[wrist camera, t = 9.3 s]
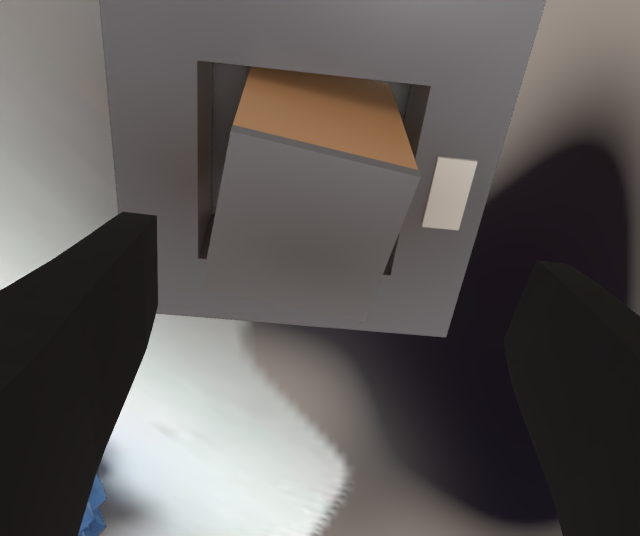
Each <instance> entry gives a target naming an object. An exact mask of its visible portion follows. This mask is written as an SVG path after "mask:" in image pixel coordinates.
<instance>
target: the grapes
mask: <svg viewBox="0 0 640 536" xmlns="http://www.w3.org/2000/svg"><path fill="white" fill-rule="evenodd" d="M106 499H107V497H106V494H105V491H104V488H103V485H102V483H101V481H100V479H99V476H98V474H97V473H96V476H95V479H94V483H93V486H92V490H91V493H90V496H89V500H88V503H87V506H86V510H85V513H84V517H83V520H82V523H81V527H80V530H79V534H78V536H98V535H99V534H100V533H101V532H102V531H103V529H104V528H105V527H106V525H105V522H104V519H103V516H102V513H101V511H100V509H99V506H100V505H101V504H102V503H103V502H104V501H105V500H106Z"/></svg>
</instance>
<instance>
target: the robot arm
mask: <svg viewBox="0 0 640 536" xmlns="http://www.w3.org/2000/svg"><path fill="white" fill-rule="evenodd" d="M157 307H158V254H157V216H156V215H148V214H140V213H131V212H122V213H120V214H118V215H117V216H115V217H114V218H112V219H111V220H110V221H108V222H107V223H105V224H104V225H102V226H101V227H100V228H98V229H97V230H95V231H94V232H92V233H91V234H90V235H88V236H87V237H85V238H84V239H82V240H81V241H79V242H78V243H76V244H75V245H73V246H72V247H70V248H69V249H67V250H66V251H64V252H63V253H61V254H60V255H59V256H57V257H56V258H54V259H52V260H51V261H49V262H48V263H46V264H44V265H43V266H41V267H39V268H38V269H36V270H34V271H32V272H31V273H29V274H27V275H26V276H24V277H22V278H21V279H19V280H17V281H16V282H14V283H12V284H11V285H9V286H7V287H6V288H4V289H2V290H0V536H78V534H79V530H80V527H81V523H82V520H83V517H84V513H85V510H86V506H87V503H88V500H89V496H90V493H91V490H92V486H93V483H94V479H95V476H96V473H97V470H98V467H99V464H100V462H101V459H102V456H103V453H104V451H105V448H106V446H107V443H108V441H109V438H110V436H111V434H112V431H113V429H114V426H115V424H116V422H117V419H118V417H119V414H120V412H121V410H122V407H123V405H124V402H125V400H126V398H127V395H128V393H129V391H130V388H131V386H132V383H133V381H134V378H135V376H136V374H137V371H138V369H139V366H140V364H141V361H142V359H143V356H144V354H145V351H146V349H147V345H148V342H149V338H150V334H151V331H152V327H153V323H154V319H155V315H156V311H157ZM503 342H504V347H505V352H506V358H507V363H508V369H509V373H510V378H511V382H512V386H513V389H514V392H515V395H516V398H517V401H518V403H519V406H520V409H521V412H522V415H523V418H524V420H525V423H526V426H527V429H528V431H529V434H530V436H531V439H532V442H533V445H534V447H535V450H536V453H537V455H538V458H539V461H540V463H541V466H542V469H543V471H544V474H545V477H546V480H547V483H548V485H549V488H550V491H551V494H552V497H553V501H554V504H555V507H556V510H557V514H558V518H559V522H560V526H561V530H562V534H563V536H640V316H639V315H637V314H636V313H635V312H633V311H632V310H631V309H629V308H628V307H627V306H625V305H624V304H623V303H621V302H620V301H619V300H618V299H616V298H615V297H613V296H612V295H611V294H610V293H608V292H607V291H606V290H604V289H603V288H602V287H600V286H599V285H598V284H596V283H595V282H593V281H592V280H590V279H589V278H588V277H586V276H585V275H584V274H582V273H581V272H579V271H578V270H576V269H574V268H572V267H571V266H569V265H568V264H561V263H553V262H544V261H536V263H535V266H534V268H533V271H532V273H531V275H530V278H529V280H528V282H527V285H526V288H525V290H524V292H523V295H522V297H521V300H520V302H519V304H518V307H517V309H516V312H515V314H514V317H513V319H512V321H511V324H510V326H509V329H508V331H507V334H506V336H505V338H504V341H503Z"/></svg>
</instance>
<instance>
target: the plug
mask: <svg viewBox="0 0 640 536" xmlns="http://www.w3.org/2000/svg"><path fill="white" fill-rule="evenodd" d="M420 178H421V176H420V173H419V170H418V167H417V164H416V161H415V158H414V155H413V152H412V149H411V146H410V143H409V140H408V137H407V134H406V131H405V128H404V125H403V122H402V119H401V116H400V113H399V110H398V107H397V104H396V101H395V98H394V95H393V92H392V89H391V86H390V85H389V84H385V83H381V82H378V81H374V80H370V79H362V78H353V77H344V76H334V75H325V74H316V73H307V72H298V71H289V70H280V69H270V68H261V67H252V66H251V68H250V71H249V74H248V77H247V80H246V84H245V87H244V90H243V93H242V96H241V100H240V103H239V106H238V109H237V112H236V115H235V119H234V122H233V125H232V128H231V132H230V137H229V142H228V148H227V153H226V158H225V164H224V169H223V174H222V180H221V185H220V191H219V196H218V201H217V207H216V212H215V217H214V223H213V228H212V233H211V239H210V244H209V250H208V255H207V260H206V266H205V271H204V276H203V282H202V287H201V289H204V290H209V291H214V292H219V293H224V294H229V295H234V296H239V297H243V298H248V299H253V300H258V301H263V302H268V303H273V304H278V305H283V306H288V307H293V308H298V309H303V310H308V311H313V312H318V313H323V314H328V315H333V316H338V317H343V318H348V319H352V320H357V321H362V322H365V319H366V316H367V314H368V311H369V309H370V306H371V304H372V301H373V298H374V296H375V293H376V291H377V288H378V286H379V283H380V281H381V278H382V275H383V273H384V270H385V268H386V265H387V263H388V260H389V258H390V255H391V252H392V250H393V247H394V245H395V242H396V240H397V237H398V234H399V232H400V229H401V227H402V224H403V222H404V219H405V217H406V214H407V211H408V209H409V206H410V204H411V201H412V199H413V196H414V193H415V191H416V188H417V186H418V183H419V181H420Z"/></svg>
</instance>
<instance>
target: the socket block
mask: <svg viewBox="0 0 640 536" xmlns="http://www.w3.org/2000/svg"><path fill="white" fill-rule="evenodd" d="M99 2H100V13H101V24H102V35H103V46H104V57H105V69H106V80H107V91H108V102H109V113H110V124H111V135H112V146H113V157H114V169H115V180H116V191H117V202H118V213H119V214H120V213H122V212H131V213H140V214H148V215H156V216H157V254H158V307H157V311H156V313H157V314H169V315H182V316H194V317H206V318H218V319H230V320H242V321H254V322H267V323H279V324H291V325H303V326H315V327H327V328H340V329H352V330H364V331H376V332H388V333H400V334H413V335H426V336H437V337H446V336H447V332H448V329H449V325H450V322H451V318H452V315H453V312H454V309H455V305H456V302H457V298H458V295H459V292H460V288H461V285H462V282H463V278H464V275H465V272H466V268H467V264H468V261H469V258H470V254H471V252H472V248H473V245H474V241H475V238H476V235H477V231H478V228H479V225H480V221H481V218H482V214H483V211H484V208H485V204H486V201H487V198H488V194H489V191H490V188H491V184H492V181H493V178H494V174H495V171H496V168H497V164H498V161H499V157H500V154H501V151H502V147H503V144H504V141H505V137H506V134H507V131H508V127H509V124H510V121H511V117H512V114H513V110H514V107H515V103H516V100H517V97H518V94H519V90H520V87H521V84H522V80H523V77H524V73H525V70H526V67H527V63H528V60H529V57H530V53H531V50H532V46H533V43H534V40H535V37H536V33H537V30H538V26H539V23H540V20H541V16H542V13H543V10H544V6H545V3H546V0H99ZM213 62H216V63H225V64H234V65H243V66H252V67H261V68H270V69H280V70H289V71H298V72H307V73H316V74H325V75H334V76H344V77H353V78H362V79H371V80H380V81H389V82H398V83H408V84H411V87H410V92H409V98H408V103H407V108H406V113H405V118H404V123H403V125H404V128H405V131H406V134H407V137H408V140H409V143H410V146H411V149H412V152H413V155H414V158H415V161H416V164H417V167H418V170H419V173H420V176H421V178H420V181H419V183H418V186H417V188H416V191H415V193H414V196H413V199H412V201H411V204H410V206H409V209H408V211H407V214H406V217H405V219H404V222H403V224H402V227H401V229H400V232H399V234H398V237H397V240H396V242H395V245H394V247H393V250H392V252H391V255H390V258H389V260H388V263H387V265H386V268H385V270H384V273H383V275H382V278H381V281H380V283H379V286H378V288H377V291H376V293H375V296H374V298H373V301H372V304H371V306H370V309H369V311H368V314H367V316H366V319H365V322H362V321H357V320H352V319H348V318H343V317H338V316H333V315H328V314H323V313H318V312H313V311H308V310H303V309H298V308H293V307H288V306H283V305H278V304H273V303H268V302H263V301H258V300H253V299H248V298H243V297H239V296H234V295H229V294H224V293H219V292H214V291H209V290H204V289H201V287H202V282H203V276H204V271H205V266H206V260H207V255H208V250H209V244H210V239H211V233H212V228H213V223H214V217H215V215H211V194H212V81H213Z"/></svg>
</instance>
